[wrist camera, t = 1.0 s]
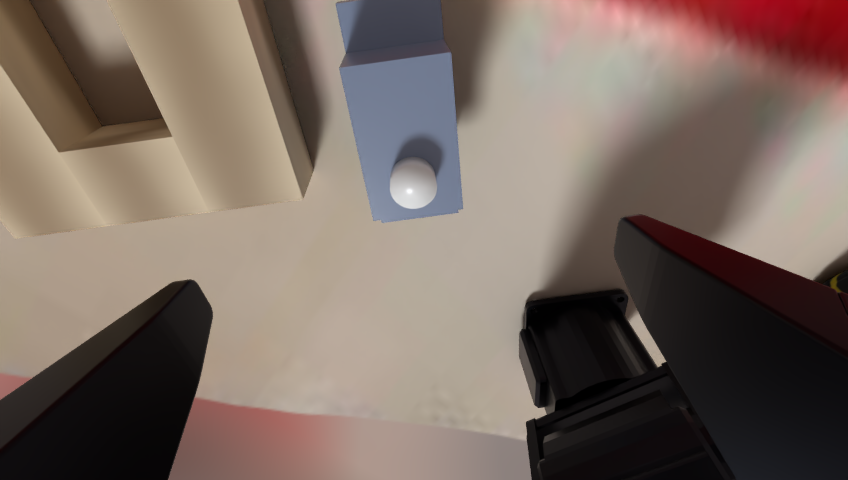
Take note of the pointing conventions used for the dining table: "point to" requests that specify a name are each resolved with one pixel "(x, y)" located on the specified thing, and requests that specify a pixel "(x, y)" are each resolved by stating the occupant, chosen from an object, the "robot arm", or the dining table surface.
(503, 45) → the dining table surface
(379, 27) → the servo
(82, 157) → the frame
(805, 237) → the dining table surface
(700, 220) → the dining table surface
